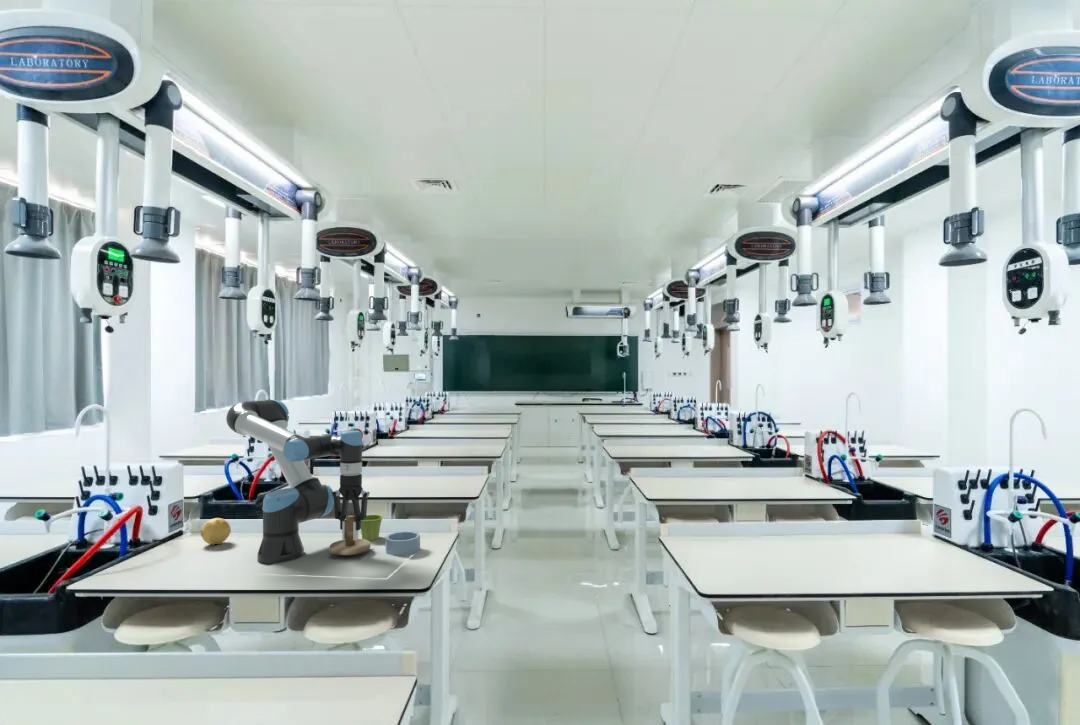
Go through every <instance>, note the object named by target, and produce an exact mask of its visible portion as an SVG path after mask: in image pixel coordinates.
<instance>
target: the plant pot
mask: <svg viewBox="0 0 1080 725" xmlns="http://www.w3.org/2000/svg"><path fill="white" fill-rule="evenodd" d="M382 519H383V515H381V514H366V518H365V519H363V520H361V529H360V533H361V539H365V540H368V541H370V542H371V541H376V540H378V539H379V538H380V531H381V530H380V529H381V524H382Z"/></svg>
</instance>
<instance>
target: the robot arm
mask: <svg viewBox="0 0 1080 725" xmlns="http://www.w3.org/2000/svg"><path fill="white" fill-rule="evenodd" d="M289 414H290V413H289V409H288V407H287V406H286V404H285V403H284V402H282V401H281V400H277V399H271V398H269V399H264V400H263V399H262V400H244V401H243V400H242V401H240V402H237V403H235V404H234V405H232V406H231V407H230V408H229V409H228V411H227V413H226V418H225V419H226V423H227V424H226V425H227V426H228V427H229V429H230V430H232V431H233V432H234V433H236V434H238V435H241V436H250V437H251V438H253V439H255V440H257V441H260V442H262V443H264V444H266V445H267V446H268V448H269V449H270V452H271V453H272V456H273V457H274V460H275V461H276V463H277V465H278V467H279V469H280V470H281V472H282V475H283V476H284V478H285V480H286V483H287V484H288V487H287V488H283V489H282V488H280V489H277V490H274V491H271V492H269V493H267V494H266V495H265V496H264V498H263V500H262V501H263V503H262V508H261V509H262V540H261V543H260V546H259V549H258V552H257V556H256V557H257V558H256V559H257V562H258V563H261V564H264V565H272V564H278V563H286V562H291V561H295V560H297V559H300V558H301V557H303V556H304V555H305V549H304V548H305V546H304V545H303V542H302V539H301V536H300V532H299V530H300V529H299V528H300V527H299V526H300V523H305V522H307V521H311V520H312V521H313V520H316V519H320V518H323V517H326V516H327V515H329V513H330V512H332V511H333V509H334V518H335V519H336V520H338V521H339V522H340V523H339V524H340V525H339V529H340V530H341V532H342V533H341V534H342V536H341V537H342V538H341V539H342V540H345V531H346V516H347V513H348V509H349V503H350V500H351V503H352V507H353V513H354V516H355V521H354V522H353V540H356V539H359V531H361V520H363V519H365V518H366V515H367V510H368V509H367V508H368V498H369V497H370V491H365V490H364V488H363V486H362V484H363V474H362V472H363V442H364V441H363V433H362V431H360V430H343V431H341V432H340V434H338V435H337V434H330V433H323V434H319V435H318V436H312V437H305V436H304V437H303V436H302V435H299V434H297V433H295V432H292V431H291V430H288V429H287V428H288V426H289V421H290V416H289ZM329 456H330V457H331V456H333V457H339V459H340V460H339V464H340V465H339V467H340V468H339V473H340V476H339V488H338V490H337V489H336V490H335V491H334V490H333V489H332V487H331V486H330V485H327V484H322V482H321V481H320V480H319V478H318V477H315V476H313V475H312V474H311V471H310V470H309V468H308V466H307V464H306V463H305V461H307V460H311V459H319V458H322V457H323V458H324V457H329ZM360 495H361V497H362V498H361V504H360ZM341 496H342V501H341ZM341 502H342V503H341ZM333 507H334V508H333Z"/></svg>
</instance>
